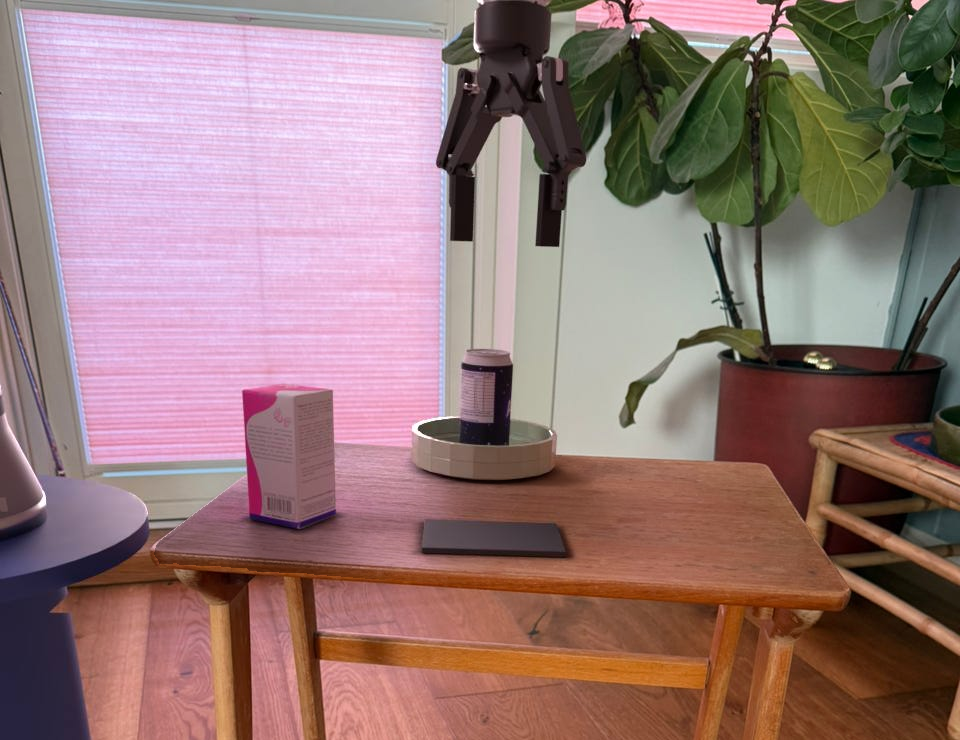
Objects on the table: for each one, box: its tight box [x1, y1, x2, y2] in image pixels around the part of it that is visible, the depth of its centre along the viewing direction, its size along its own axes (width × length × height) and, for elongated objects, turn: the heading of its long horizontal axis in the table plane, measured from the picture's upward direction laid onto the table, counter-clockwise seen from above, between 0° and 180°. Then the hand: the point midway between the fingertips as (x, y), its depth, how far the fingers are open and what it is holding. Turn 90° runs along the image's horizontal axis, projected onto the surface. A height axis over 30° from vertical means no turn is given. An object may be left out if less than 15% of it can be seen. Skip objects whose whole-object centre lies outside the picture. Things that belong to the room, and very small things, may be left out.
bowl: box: [411, 416, 558, 481], centre depth 103 cm, size 16×16×4 cm
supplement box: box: [241, 383, 337, 530], centre depth 81 cm, size 6×6×12 cm
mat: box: [421, 518, 567, 558], centre depth 79 cm, size 12×8×1 cm, turn 92°
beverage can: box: [459, 348, 514, 446], centre depth 101 cm, size 6×6×12 cm
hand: (502, 244), depth 97 cm, fingers open, 13 cm apart
